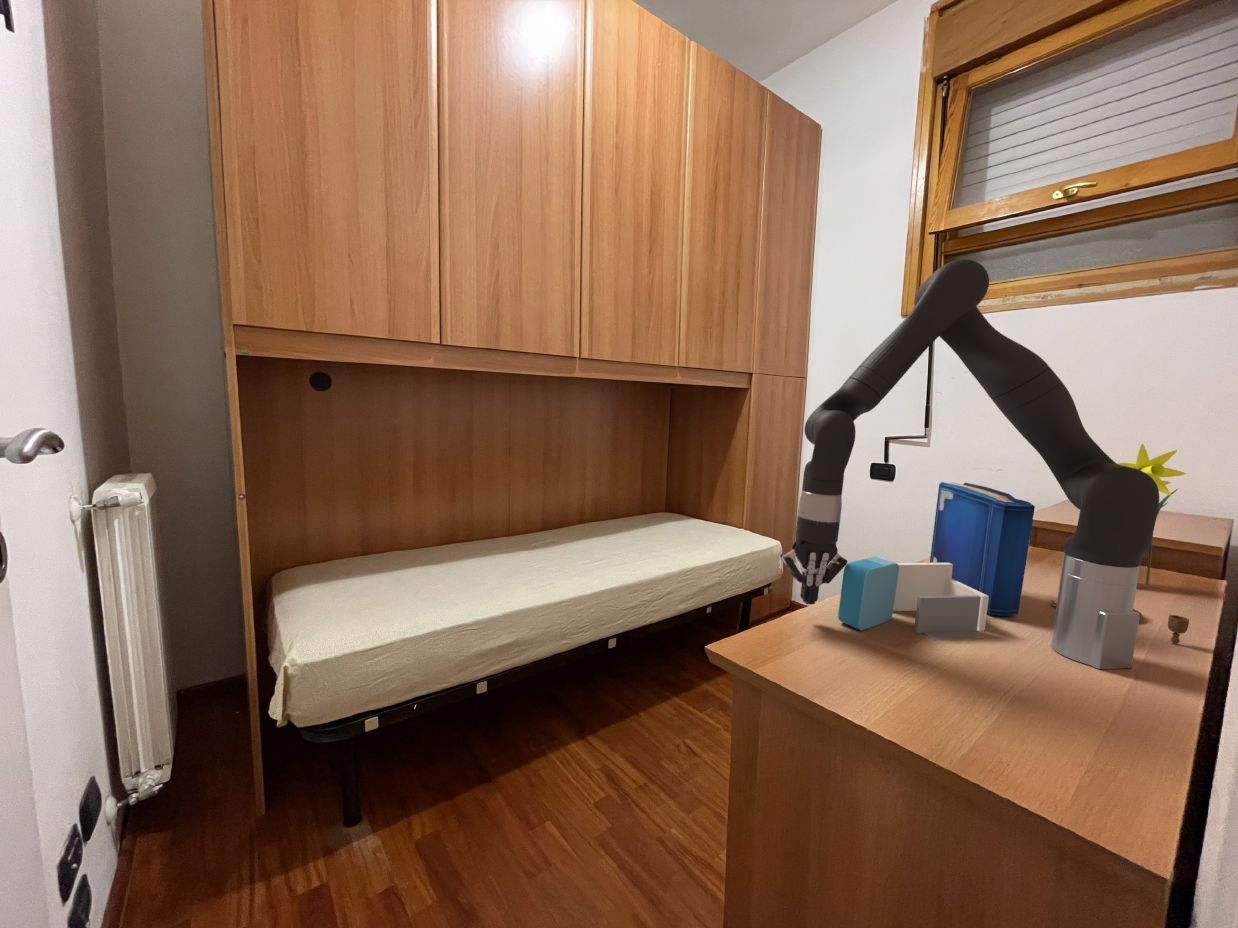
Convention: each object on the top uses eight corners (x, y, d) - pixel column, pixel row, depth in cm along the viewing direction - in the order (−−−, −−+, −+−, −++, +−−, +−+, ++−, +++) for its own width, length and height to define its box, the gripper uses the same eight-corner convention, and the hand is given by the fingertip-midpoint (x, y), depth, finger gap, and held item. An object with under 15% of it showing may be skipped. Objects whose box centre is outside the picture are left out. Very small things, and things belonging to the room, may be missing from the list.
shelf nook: (999, 639, 90) (1006, 587, 89) (928, 641, 89) (933, 588, 88) (943, 607, 104) (948, 562, 103) (881, 608, 103) (885, 563, 102)
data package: (870, 611, 102) (878, 555, 100) (892, 619, 98) (900, 562, 96) (836, 622, 95) (844, 563, 93) (858, 632, 91) (867, 570, 90)
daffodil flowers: (1082, 568, 132) (1101, 439, 127) (1163, 584, 121) (1187, 443, 117) (1078, 584, 120) (1098, 442, 116) (1167, 602, 110) (1193, 447, 105)
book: (1026, 620, 99) (1041, 499, 95) (990, 619, 99) (1005, 498, 96) (955, 581, 120) (966, 481, 117) (925, 581, 120) (936, 480, 117)
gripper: (793, 518, 89) (783, 610, 91) (863, 522, 90) (851, 611, 92) (777, 509, 96) (768, 594, 98) (841, 512, 97) (830, 595, 99)
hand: (808, 602), depth 95 cm, fingers closed
